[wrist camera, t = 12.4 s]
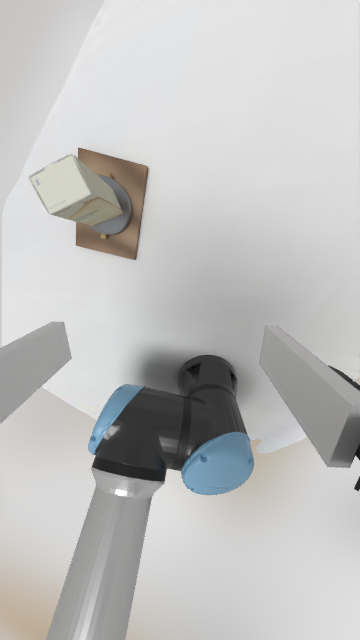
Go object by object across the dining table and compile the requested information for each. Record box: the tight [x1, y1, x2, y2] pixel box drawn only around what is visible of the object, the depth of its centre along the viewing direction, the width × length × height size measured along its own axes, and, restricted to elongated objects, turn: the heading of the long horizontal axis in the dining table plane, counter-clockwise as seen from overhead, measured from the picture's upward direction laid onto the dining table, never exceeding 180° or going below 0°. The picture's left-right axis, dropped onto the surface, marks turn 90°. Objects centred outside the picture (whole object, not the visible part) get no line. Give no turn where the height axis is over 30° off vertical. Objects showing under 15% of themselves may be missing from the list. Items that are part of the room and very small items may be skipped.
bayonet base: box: [76, 148, 148, 260], centre depth 35 cm, size 16×12×4 cm
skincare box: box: [28, 153, 123, 226], centre depth 27 cm, size 6×4×12 cm
